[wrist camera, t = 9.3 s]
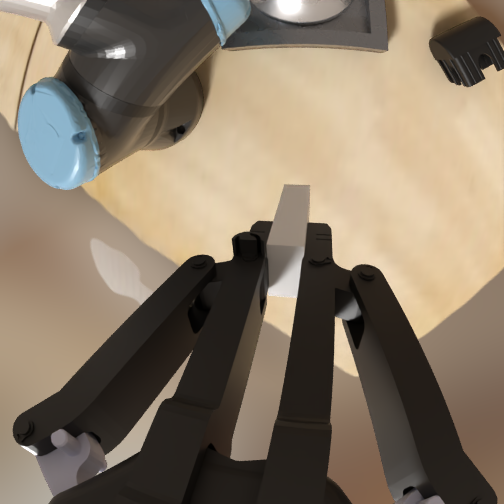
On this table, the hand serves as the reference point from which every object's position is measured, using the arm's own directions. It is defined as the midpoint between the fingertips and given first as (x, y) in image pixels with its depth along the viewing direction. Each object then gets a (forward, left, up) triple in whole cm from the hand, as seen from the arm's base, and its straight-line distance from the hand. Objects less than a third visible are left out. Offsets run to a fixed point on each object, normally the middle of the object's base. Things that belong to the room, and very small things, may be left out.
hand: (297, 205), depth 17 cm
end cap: (+22, +15, -25) cm, 36 cm away
